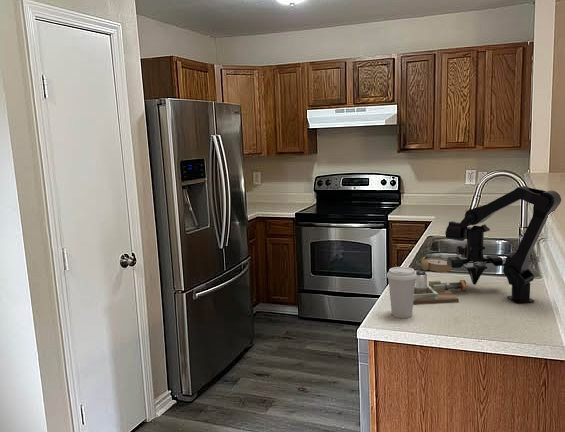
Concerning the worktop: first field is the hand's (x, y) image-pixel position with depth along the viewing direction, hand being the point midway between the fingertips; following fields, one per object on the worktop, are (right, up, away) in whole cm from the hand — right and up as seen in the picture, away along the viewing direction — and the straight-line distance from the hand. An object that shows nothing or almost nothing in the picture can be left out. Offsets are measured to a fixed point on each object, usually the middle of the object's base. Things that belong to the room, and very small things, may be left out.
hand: (474, 284), depth 186 cm
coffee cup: (-31, -7, -20) cm, 38 cm away
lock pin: (-8, -3, 0) cm, 9 cm away
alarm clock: (-5, +2, +33) cm, 33 cm away
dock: (-18, -4, -4) cm, 19 cm away
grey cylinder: (-21, -3, -6) cm, 22 cm away
